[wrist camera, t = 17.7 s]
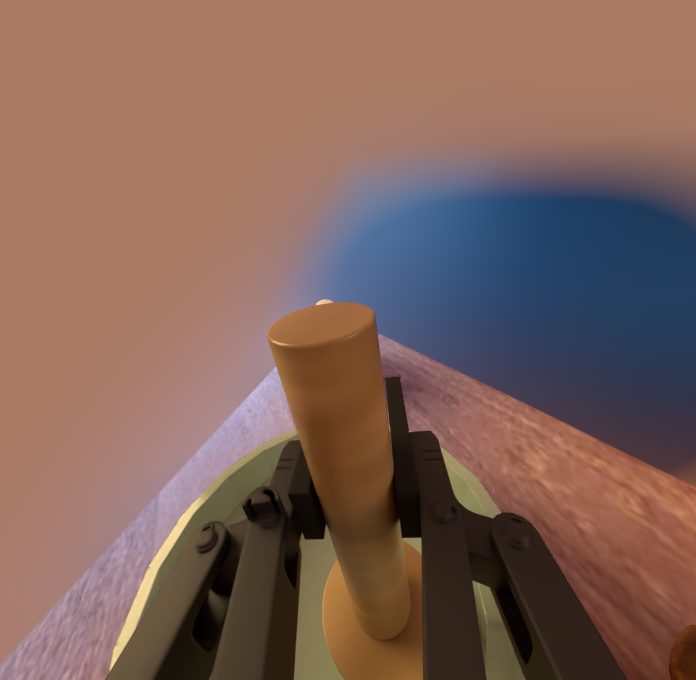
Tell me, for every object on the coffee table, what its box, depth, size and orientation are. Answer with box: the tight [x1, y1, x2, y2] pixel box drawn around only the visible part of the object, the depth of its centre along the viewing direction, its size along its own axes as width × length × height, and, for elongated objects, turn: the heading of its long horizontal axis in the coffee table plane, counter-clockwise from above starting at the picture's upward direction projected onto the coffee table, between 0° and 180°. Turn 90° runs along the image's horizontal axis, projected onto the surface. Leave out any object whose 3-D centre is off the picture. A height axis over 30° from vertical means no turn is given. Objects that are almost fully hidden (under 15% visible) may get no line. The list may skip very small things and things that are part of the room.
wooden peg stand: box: [267, 302, 423, 680], centre depth 11 cm, size 6×6×17 cm
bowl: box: [109, 424, 525, 680], centre depth 16 cm, size 20×20×6 cm
